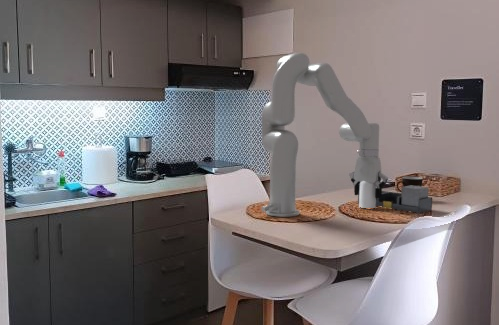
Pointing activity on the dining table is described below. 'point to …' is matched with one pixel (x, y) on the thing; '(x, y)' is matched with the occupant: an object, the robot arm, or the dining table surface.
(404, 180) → the coffee mug
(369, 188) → the can
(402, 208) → the rack
